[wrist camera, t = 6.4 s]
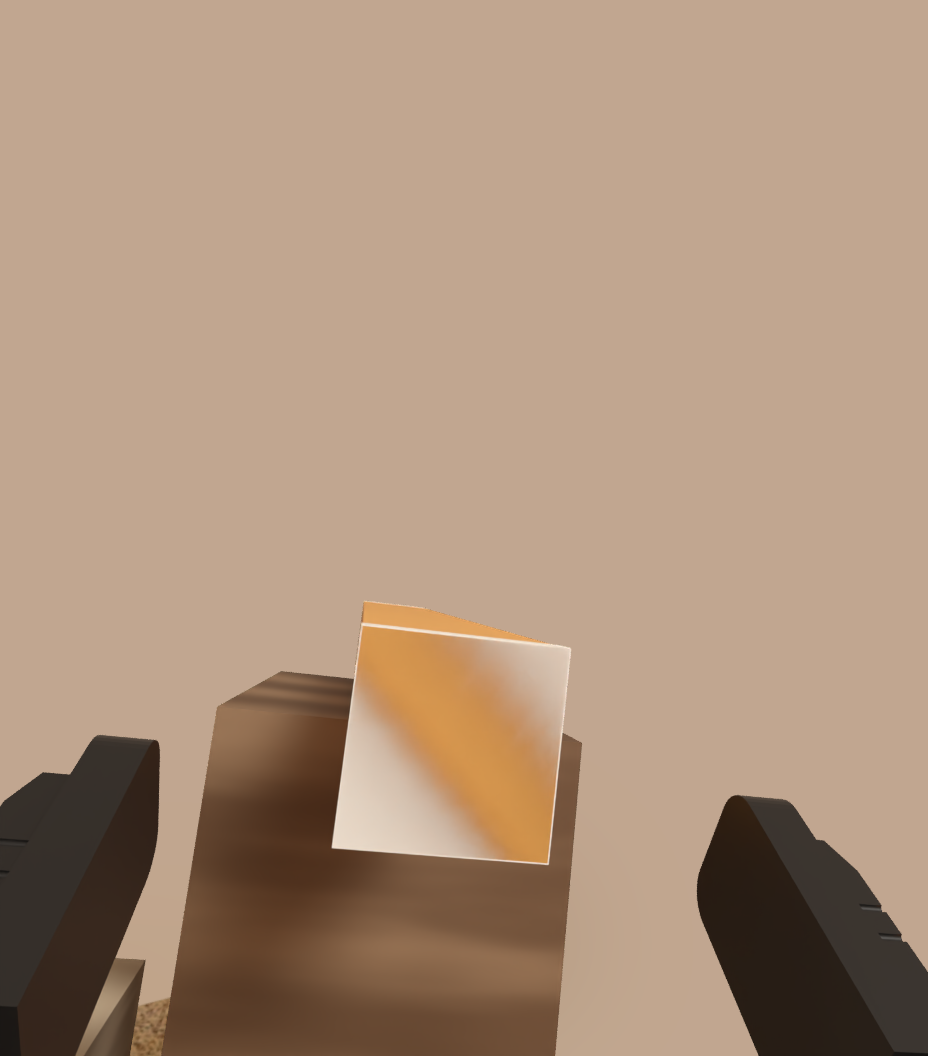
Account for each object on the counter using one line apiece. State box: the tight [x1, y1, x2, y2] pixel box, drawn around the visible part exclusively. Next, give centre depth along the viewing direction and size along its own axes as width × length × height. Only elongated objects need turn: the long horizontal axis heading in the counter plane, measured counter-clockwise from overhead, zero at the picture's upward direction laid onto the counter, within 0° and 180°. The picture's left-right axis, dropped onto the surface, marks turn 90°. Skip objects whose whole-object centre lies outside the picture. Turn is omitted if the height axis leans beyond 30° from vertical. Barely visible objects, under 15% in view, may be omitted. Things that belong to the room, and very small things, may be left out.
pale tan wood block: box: [332, 601, 571, 865], centre depth 23 cm, size 26×3×3 cm, turn 8°
